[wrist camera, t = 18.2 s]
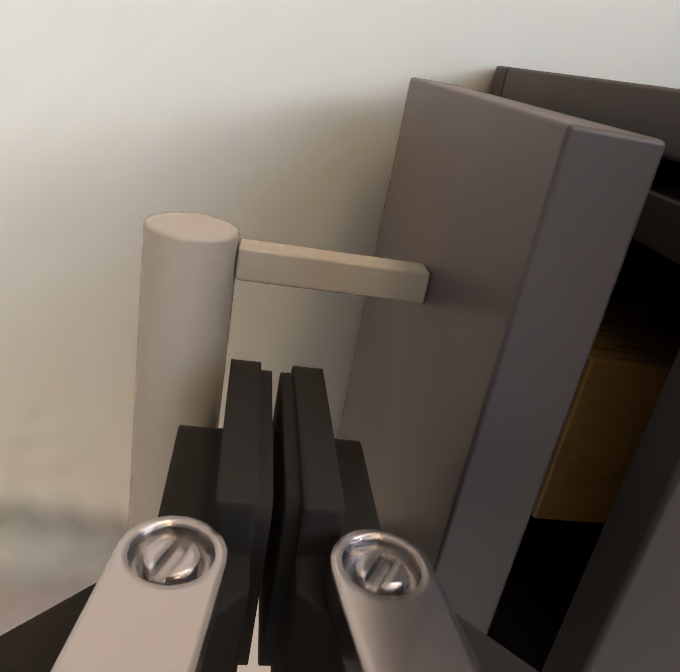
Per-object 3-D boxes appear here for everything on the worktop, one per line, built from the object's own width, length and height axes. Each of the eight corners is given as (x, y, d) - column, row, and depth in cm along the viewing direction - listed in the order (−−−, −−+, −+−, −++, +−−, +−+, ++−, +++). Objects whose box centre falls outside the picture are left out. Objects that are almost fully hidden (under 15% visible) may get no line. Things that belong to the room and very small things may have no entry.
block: (479, 421, 18) (532, 519, 14) (520, 287, 16) (591, 358, 13) (611, 434, 18) (694, 531, 15) (663, 306, 17) (770, 380, 13)
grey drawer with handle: (158, 495, 19) (76, 824, 11) (191, 36, 14) (85, 34, 6) (739, 539, 22) (1001, 822, 14) (935, 174, 17) (1512, 294, 9)
